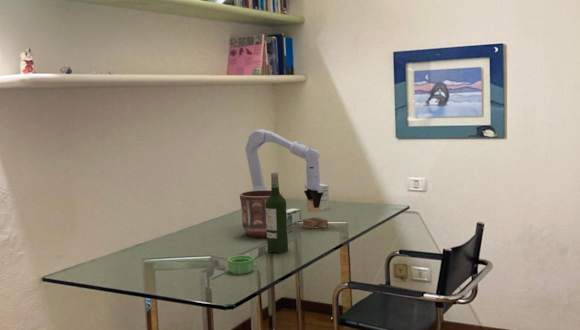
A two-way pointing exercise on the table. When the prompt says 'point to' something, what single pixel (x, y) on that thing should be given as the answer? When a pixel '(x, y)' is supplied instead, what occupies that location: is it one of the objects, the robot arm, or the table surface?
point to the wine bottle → (276, 219)
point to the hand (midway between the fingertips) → (314, 206)
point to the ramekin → (240, 264)
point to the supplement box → (324, 198)
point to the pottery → (255, 212)
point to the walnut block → (315, 222)
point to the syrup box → (293, 216)
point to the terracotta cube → (312, 206)
